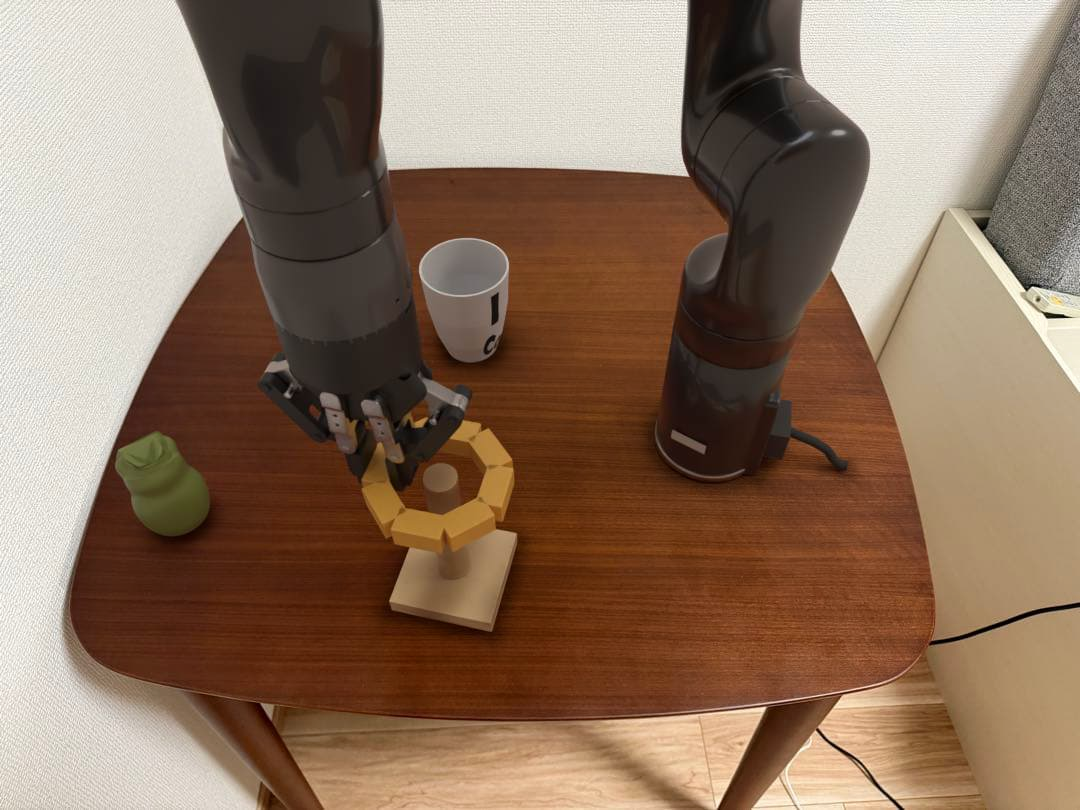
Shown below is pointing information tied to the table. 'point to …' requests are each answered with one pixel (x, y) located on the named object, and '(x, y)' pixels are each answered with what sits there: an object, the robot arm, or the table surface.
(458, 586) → the stand
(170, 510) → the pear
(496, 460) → the ring
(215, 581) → the table surface
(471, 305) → the cup
